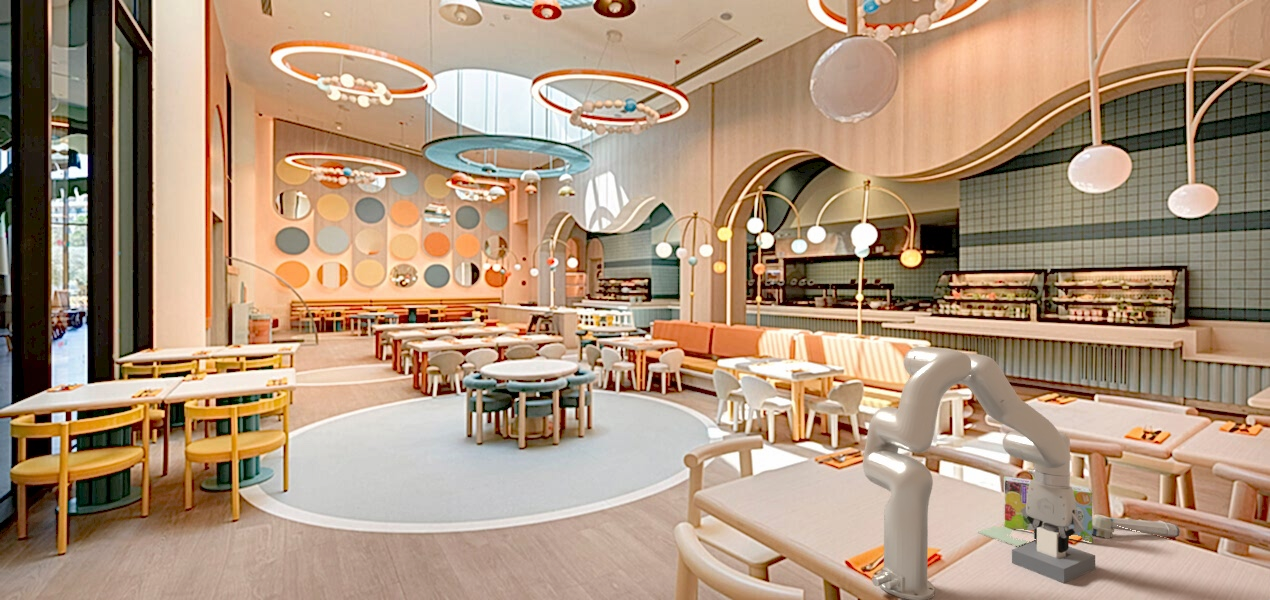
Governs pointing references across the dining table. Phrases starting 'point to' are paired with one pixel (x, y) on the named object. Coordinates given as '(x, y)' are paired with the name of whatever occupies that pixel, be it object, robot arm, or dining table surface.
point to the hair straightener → (1132, 526)
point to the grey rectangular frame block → (1054, 562)
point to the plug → (1049, 540)
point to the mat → (1002, 535)
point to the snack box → (1016, 520)
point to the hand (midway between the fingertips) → (1051, 546)
